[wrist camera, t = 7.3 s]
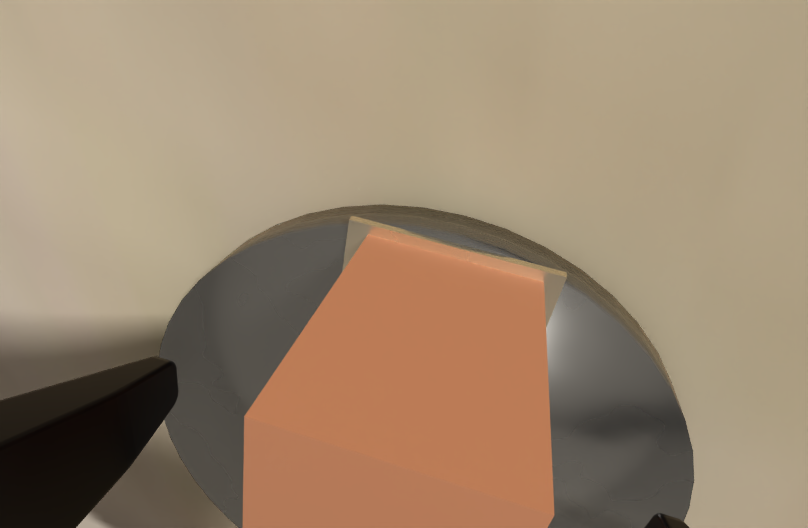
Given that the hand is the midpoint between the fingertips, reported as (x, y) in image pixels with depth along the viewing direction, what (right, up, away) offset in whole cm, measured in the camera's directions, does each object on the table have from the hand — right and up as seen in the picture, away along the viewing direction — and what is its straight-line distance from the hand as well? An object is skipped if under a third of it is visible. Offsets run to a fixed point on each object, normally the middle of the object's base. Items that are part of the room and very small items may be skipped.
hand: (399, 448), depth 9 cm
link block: (+1, +1, +2) cm, 3 cm away
